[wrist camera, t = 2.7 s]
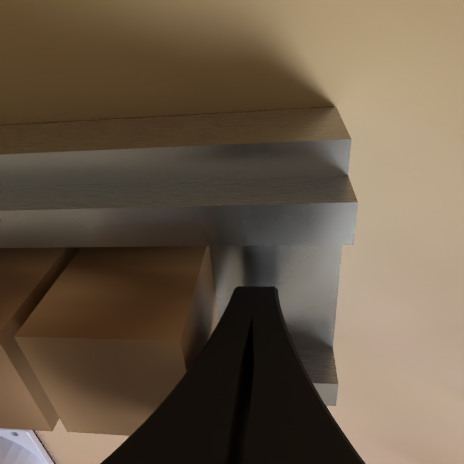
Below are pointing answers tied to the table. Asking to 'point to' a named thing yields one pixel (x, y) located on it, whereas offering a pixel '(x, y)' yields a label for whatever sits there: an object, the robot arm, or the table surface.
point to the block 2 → (120, 333)
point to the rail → (199, 202)
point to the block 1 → (8, 324)
